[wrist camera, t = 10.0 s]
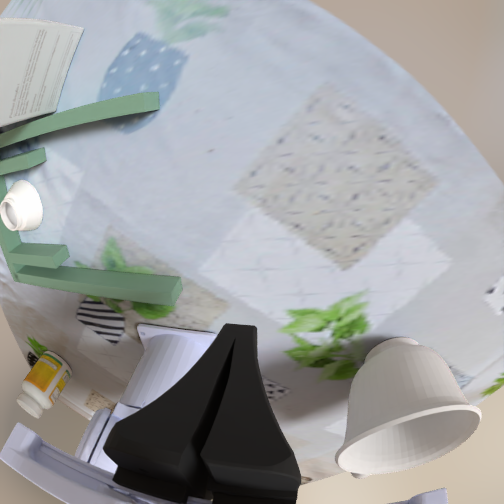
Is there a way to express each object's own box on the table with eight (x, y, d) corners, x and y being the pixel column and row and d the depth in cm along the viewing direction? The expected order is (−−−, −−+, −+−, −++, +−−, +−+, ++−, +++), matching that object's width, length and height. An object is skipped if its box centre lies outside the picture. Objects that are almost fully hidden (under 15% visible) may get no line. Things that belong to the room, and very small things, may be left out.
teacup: (301, 397, 29) (296, 480, 21) (368, 295, 22) (394, 404, 13) (392, 410, 30) (402, 481, 21) (470, 322, 22) (508, 406, 13)
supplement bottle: (78, 375, 35) (49, 425, 27) (60, 374, 37) (32, 418, 29) (56, 349, 33) (22, 398, 25) (39, 349, 35) (7, 394, 26)
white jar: (27, 168, 21) (8, 196, 22) (5, 178, 18) (-11, 207, 20) (53, 211, 22) (32, 234, 24) (32, 225, 20) (14, 249, 22)
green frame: (182, 289, 24) (143, 364, 17) (25, 270, 27) (-19, 314, 19) (158, 92, 17) (78, 98, 10) (-9, 139, 19) (-70, 166, 12)
